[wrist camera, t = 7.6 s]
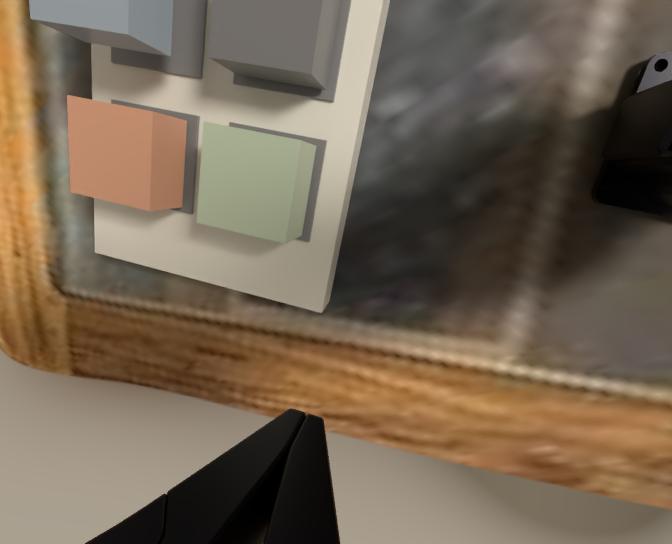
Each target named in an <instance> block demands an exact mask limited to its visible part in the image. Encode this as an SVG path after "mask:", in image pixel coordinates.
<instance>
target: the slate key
mask: <svg viewBox="0 0 672 544" xmlns="http://www.w3.org/2000/svg"><path fill="white" fill-rule="evenodd" d="M29 3H30V19H32V20H34V21H37V22H39V23H41V24H44V25H46V26H48V27H51V28H53V29H56V30H58V31H60V32H63V33H65V34H67V35H70V36H72V37H74V38H77V39H79V40H81V41H84V42H86V43H92V44H98V45H104V46H110V47H116V48H122V49H128V50H134V51H140V52H146V53H152V54H158V55H164V56H170V57H171V44H172V20H173V0H29Z"/></svg>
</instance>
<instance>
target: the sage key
mask: <svg viewBox="0 0 672 544" xmlns="http://www.w3.org/2000/svg"><path fill="white" fill-rule="evenodd" d="M315 152H316V146H315V145H313V144H310V143H307V142H304V141H302V140H297V139H292V138H287V137H282V136H277V135H271V134H266V133H261V132H256V131H251V130H246V129H240V128H235V127H230V126H225V125H220V124H215V123H210V122H203V137H202V151H201V165H200V179H199V193H198V207H197V221H196V222H197V223H201V224H205V225H209V226H213V227H217V228H222V229H226V230H230V231H234V232H238V233H242V234H247V235H251V236H255V237H259V238H263V239H267V240H271V241H276V242H280V243H284V244H286V243H288V242H290V241H292V240H294V239H296V238H298V237H300V236H302V231H303V225H304V219H305V213H306V207H307V201H308V195H309V189H310V183H311V176H312V170H313V164H314V158H315Z"/></svg>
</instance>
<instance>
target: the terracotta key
mask: <svg viewBox="0 0 672 544" xmlns="http://www.w3.org/2000/svg"><path fill="white" fill-rule="evenodd" d="M67 107H68V134H69V160H70V187H71V192H72V193H76V194H80V195H85V196H89V197H93V198H97V199H101V200H105V201H109V202H114V203H118V204H122V205H126V206H130V207H134V208H138V209H143V210H147V211H156V210H164V209H172V208H181V207H182V201H183V183H184V166H185V149H186V132H187V121H186V120H183V119H179V118H175V117H172V116H168V115H164V114H160V113H157V112H153V111H148V110H143V109H137V108H132V107H127V106H122V105H117V104H112V103H107V102H101V101H96V100H91V99H86V98H81V97H76V96H71V95H67Z"/></svg>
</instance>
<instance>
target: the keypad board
mask: <svg viewBox="0 0 672 544" xmlns="http://www.w3.org/2000/svg"><path fill="white" fill-rule="evenodd" d="M389 3H390V0H341V1H340V7H339V13H338V19H337V25H336V31H335V37H334V43H333V49H332V55H331V61H330V68H329V74H328V80H327V86H326V90H324V89H318V88H312V87H306V86H300V85H295V84H289V83H283V82H277V81H271V80H265V79H259V78H253V77H248V76H242V75H237V74H235V73H233V72H232V71H230V70H228V69H227V68H225V67H224V66H222V65H220V64H219V63H217V62H215V61H214V60H212V59H210V58H209V57H208V52H209V38H210V24H211V10H212V0H173V20H172V44H171V57H170V56H164V55H158V54H152V53H146V52H140V51H134V50H128V49H122V48H116V47H110V46H104V45H98V44H92V43H91V62H92V100H96V101H101V102H107V103H112V104H117V105H122V106H127V107H132V108H137V109H143V110H148V111H153V112H157V113H160V114H164V115H168V116H172V117H175V118H179V119H183V120H186V121H187V132H186V149H185V166H184V183H183V201H182V207H181V208H172V209H164V210H156V211H147V210H143V209H138V208H134V207H130V206H126V205H122V204H118V203H114V202H109V201H105V200H101V199H97V198H94V228H95V253H98V254H102V255H106V256H110V257H113V258H117V259H121V260H125V261H128V262H132V263H136V264H140V265H143V266H147V267H151V268H155V269H158V270H162V271H166V272H170V273H173V274H177V275H181V276H185V277H188V278H192V279H196V280H200V281H203V282H207V283H211V284H215V285H218V286H222V287H226V288H230V289H233V290H237V291H241V292H245V293H248V294H252V295H256V296H260V297H263V298H267V299H271V300H274V301H278V302H282V303H286V304H289V305H293V306H297V307H301V308H304V309H308V310H312V311H316V312H319V313H322V312H323V310H324V309H325V307H326V306H327V304H328V303H329V301H330V296H331V291H332V286H333V281H334V276H335V271H336V266H337V261H338V256H339V251H340V246H341V242H342V237H343V232H344V227H345V222H346V217H347V212H348V207H349V202H350V197H351V192H352V187H353V182H354V177H355V172H356V167H357V162H358V157H359V152H360V147H361V142H362V137H363V132H364V127H365V122H366V117H367V112H368V107H369V103H370V98H371V93H372V88H373V83H374V78H375V73H376V68H377V63H378V58H379V53H380V48H381V43H382V38H383V33H384V28H385V23H386V18H387V13H388V8H389ZM203 122H210V123H215V124H220V125H225V126H230V127H235V128H240V129H246V130H251V131H256V132H261V133H266V134H271V135H277V136H282V137H287V138H292V139H297V140H302V141H304V142H307V143H310V144H313V145H315V146H316V152H315V158H314V164H313V170H312V176H311V183H310V189H309V195H308V201H307V207H306V213H305V219H304V225H303V231H302V236H300V237H298V238H296V239H294V240H292V241H290V242H288V243H286V244H284V243H280V242H276V241H271V240H267V239H263V238H259V237H255V236H251V235H247V234H242V233H238V232H234V231H230V230H226V229H222V228H217V227H213V226H209V225H205V224H201V223H197V222H196V221H197V207H198V193H199V179H200V165H201V151H202V137H203Z"/></svg>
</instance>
